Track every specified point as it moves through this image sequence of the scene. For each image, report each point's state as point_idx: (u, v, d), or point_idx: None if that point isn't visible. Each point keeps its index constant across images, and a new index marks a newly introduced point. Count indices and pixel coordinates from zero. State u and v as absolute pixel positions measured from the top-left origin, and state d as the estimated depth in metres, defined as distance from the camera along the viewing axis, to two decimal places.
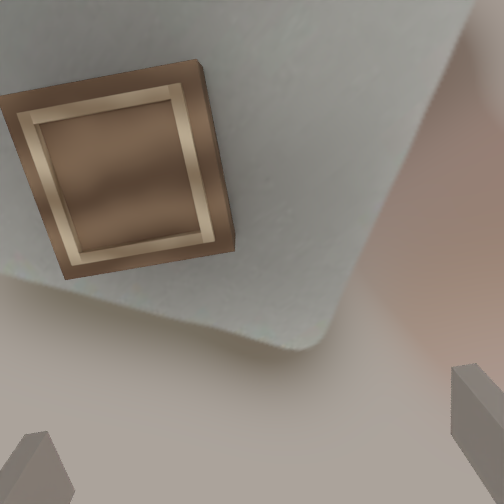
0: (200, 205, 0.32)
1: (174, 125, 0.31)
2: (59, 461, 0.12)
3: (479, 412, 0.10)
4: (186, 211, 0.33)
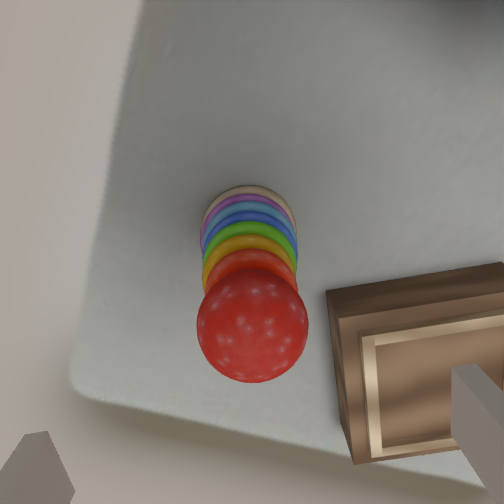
0: None
1: (502, 339, 0.31)
2: (59, 461, 0.12)
3: (479, 412, 0.10)
4: None
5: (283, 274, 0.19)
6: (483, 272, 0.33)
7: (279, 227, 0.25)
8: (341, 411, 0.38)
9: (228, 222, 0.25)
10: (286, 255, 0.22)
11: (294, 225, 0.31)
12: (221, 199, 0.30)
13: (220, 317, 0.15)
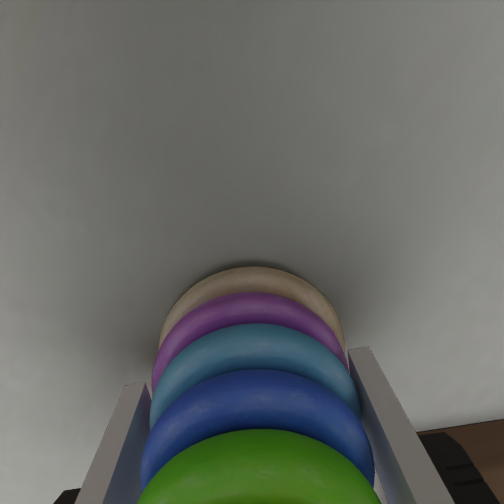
0: None
1: None
2: None
3: (360, 387, 0.12)
4: None
5: None
6: None
7: (336, 425, 0.09)
8: None
9: (200, 417, 0.09)
10: None
11: (342, 342, 0.16)
12: (196, 297, 0.15)
13: None
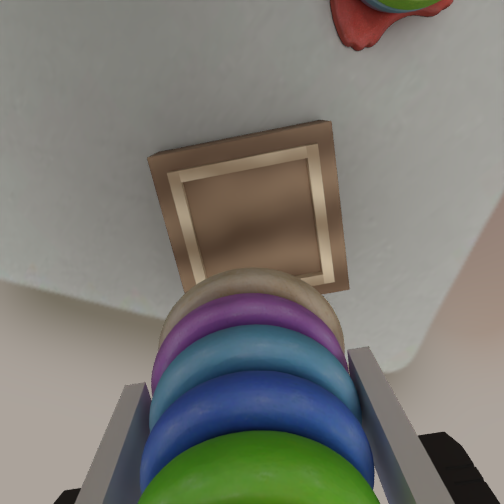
0: (325, 250, 0.35)
1: (305, 179, 0.34)
2: None
3: (360, 387, 0.12)
4: (309, 255, 0.36)
5: None
6: (297, 125, 0.35)
7: (335, 426, 0.09)
8: None
9: (200, 419, 0.09)
10: None
11: (342, 343, 0.16)
12: (196, 298, 0.15)
13: None
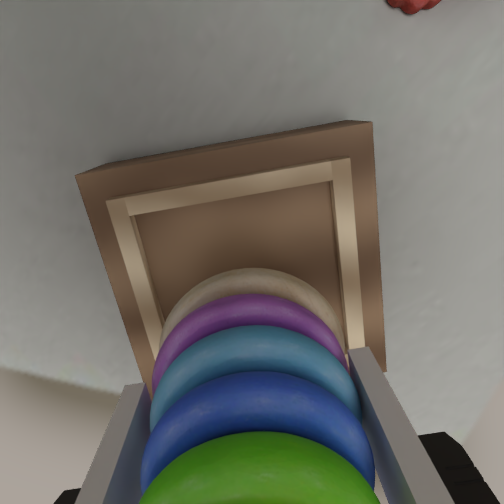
0: (354, 320, 0.23)
1: (327, 212, 0.21)
2: None
3: (360, 387, 0.12)
4: None
5: None
6: (314, 127, 0.23)
7: (336, 427, 0.09)
8: None
9: (201, 420, 0.09)
10: None
11: (343, 344, 0.16)
12: (196, 299, 0.15)
13: None
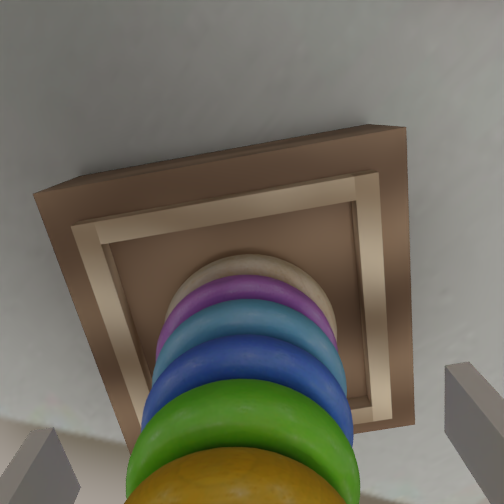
0: (378, 367, 0.19)
1: (347, 238, 0.17)
2: (65, 457, 0.13)
3: (471, 410, 0.11)
4: (346, 370, 0.20)
5: None
6: (329, 133, 0.19)
7: (314, 381, 0.10)
8: None
9: (194, 371, 0.10)
10: None
11: (334, 326, 0.17)
12: (198, 281, 0.16)
13: None
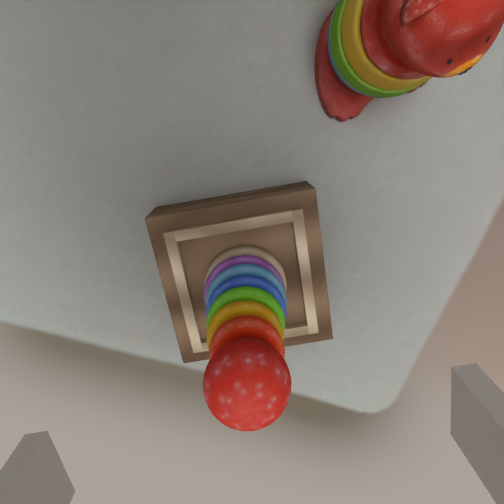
0: (309, 304, 0.38)
1: (291, 239, 0.36)
2: (59, 461, 0.12)
3: (479, 412, 0.10)
4: (294, 307, 0.39)
5: (272, 338, 0.24)
6: (285, 186, 0.38)
7: (270, 289, 0.30)
8: None
9: (227, 286, 0.29)
10: (275, 318, 0.26)
11: (285, 279, 0.36)
12: (221, 259, 0.35)
13: (222, 381, 0.20)
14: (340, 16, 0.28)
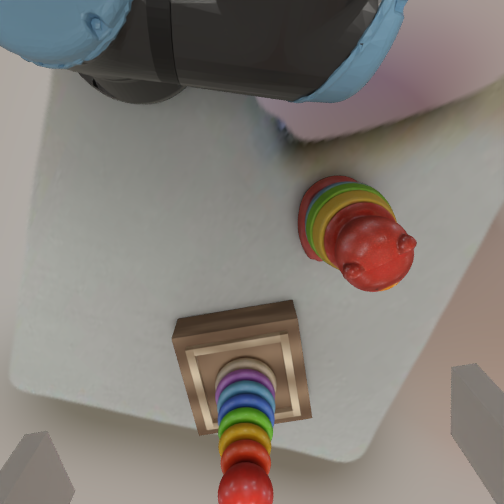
0: (293, 396, 0.50)
1: (280, 351, 0.49)
2: (59, 461, 0.12)
3: (479, 412, 0.10)
4: (283, 397, 0.51)
5: (262, 458, 0.37)
6: (276, 307, 0.51)
7: (262, 406, 0.42)
8: None
9: (232, 405, 0.42)
10: (265, 436, 0.39)
11: (275, 381, 0.48)
12: (227, 369, 0.47)
13: (229, 501, 0.33)
14: (311, 224, 0.40)
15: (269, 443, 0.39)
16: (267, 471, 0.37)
